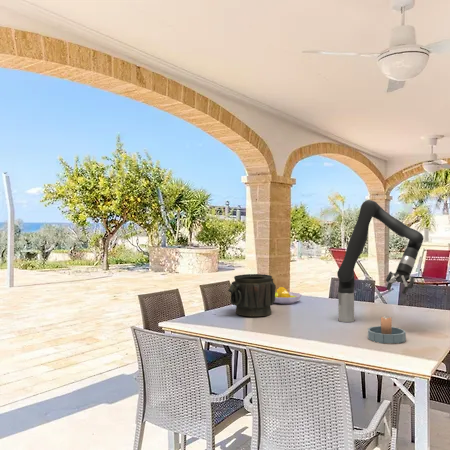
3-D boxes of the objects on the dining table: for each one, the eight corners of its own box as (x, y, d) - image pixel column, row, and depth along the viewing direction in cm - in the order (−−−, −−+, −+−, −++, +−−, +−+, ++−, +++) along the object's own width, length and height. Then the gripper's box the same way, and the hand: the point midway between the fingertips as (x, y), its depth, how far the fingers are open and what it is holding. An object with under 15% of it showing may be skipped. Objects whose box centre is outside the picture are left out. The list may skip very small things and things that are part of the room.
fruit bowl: (306, 301, 344) (306, 286, 344) (292, 307, 321) (292, 291, 321) (273, 298, 359) (273, 283, 359) (257, 303, 336) (257, 288, 336)
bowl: (369, 343, 226) (369, 334, 226) (366, 334, 244) (366, 325, 243) (408, 344, 222) (408, 335, 222) (402, 335, 240) (401, 326, 240)
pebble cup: (381, 338, 231) (381, 317, 231) (380, 335, 236) (380, 315, 236) (392, 338, 230) (392, 317, 230) (391, 335, 235) (390, 315, 235)
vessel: (225, 318, 288) (224, 279, 288) (236, 308, 319) (235, 273, 319) (273, 320, 281) (272, 279, 281) (279, 309, 312) (278, 273, 312)
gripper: (391, 260, 253) (381, 285, 249) (416, 265, 243) (406, 292, 239) (395, 265, 258) (385, 291, 254) (420, 271, 248) (410, 298, 244)
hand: (395, 291), depth 246 cm, fingers open, 8 cm apart
